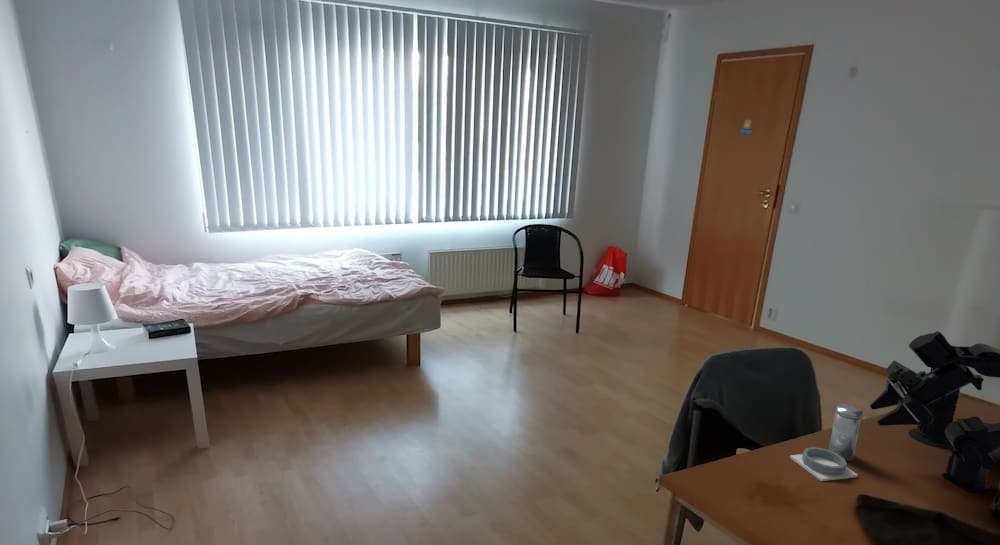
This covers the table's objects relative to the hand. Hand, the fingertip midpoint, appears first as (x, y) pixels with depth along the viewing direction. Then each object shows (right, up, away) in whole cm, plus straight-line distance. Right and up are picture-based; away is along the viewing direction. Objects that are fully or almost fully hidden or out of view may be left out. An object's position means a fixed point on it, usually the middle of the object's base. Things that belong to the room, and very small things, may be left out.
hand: (874, 415), depth 132 cm
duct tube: (-5, -11, +5) cm, 13 cm away
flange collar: (-13, -12, -1) cm, 18 cm away
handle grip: (+25, -10, +15) cm, 31 cm away
